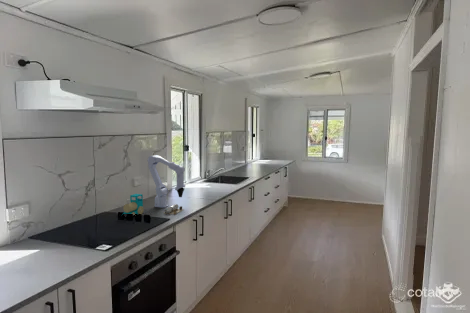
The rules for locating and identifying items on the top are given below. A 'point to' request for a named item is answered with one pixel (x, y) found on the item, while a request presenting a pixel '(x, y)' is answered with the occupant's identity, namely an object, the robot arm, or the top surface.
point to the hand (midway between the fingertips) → (180, 197)
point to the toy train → (134, 205)
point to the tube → (171, 208)
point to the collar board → (175, 211)
